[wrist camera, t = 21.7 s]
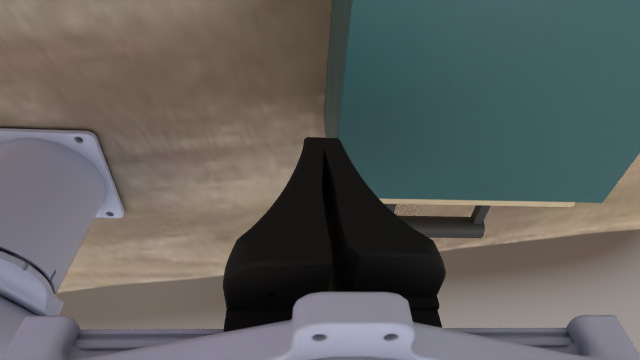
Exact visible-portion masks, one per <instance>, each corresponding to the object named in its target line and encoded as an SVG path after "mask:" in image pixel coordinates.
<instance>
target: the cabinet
mask: <svg viewBox="0 0 640 360" xmlns="http://www.w3.org/2000/svg"><path fill="white" fill-rule="evenodd" d="M324 122H325V135H326V138H339V139H340V140H341V142H342V145H343V147H344V149H345V151H346V153H347V155H348V156H349V158H350V160H351V162H352V163H353V165H354V166H355V168H356V169H357V171H358V173H359V174H360V175H361V177H362V178H363V180H364V181H365V182H366V184H367V185H368V186H369V188H370V189H371V190H372V191H373V192H374V194H375V195H376V196H377V197H378V198H379V199H427V200H482V201H536V202H590V203H602V202H603V201H604V200H605V198H606V197H607V196H608V194H609V193H610V192H611V190H612V189H613V188H614V186H615V185H616V184H617V182H618V181H619V180H620V178H621V177H622V176H623V174H624V173H625V172H626V170H627V169H628V168H629V166H630V165H631V164H632V162H633V161H634V160H635V158H636V157H637V156H638V154H639V153H640V0H333V1H332V13H331V26H330V39H329V52H328V65H327V77H326V90H325V103H324Z"/></svg>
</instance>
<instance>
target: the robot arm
mask: <svg viewBox="0 0 640 360" xmlns="http://www.w3.org/2000/svg"><path fill="white" fill-rule="evenodd" d="M78 137H80V138H82V139H83V140H82V139H79V138H78ZM124 213H125V210H124V208H123V205H122V202H121V200H120V197H119V195H118V192H117V189H116V187H115V184H114V181H113V179H112V176H111V173H110V171H109V168H108V166H107V163H106V160H105V158H104V155H103V152H102V150H101V147H100V145H99V142H98V139H97V137H96V135H95V134H94V133H92V132H90V131H78V130H42V129H7V128H0V360H640V354H639V353H638V351H637V349H636V348H635V346H634V345H633V343H632V341H631V340H630V338H629V337H628V335H627V333H626V332H625V330H624V329H623V327H622V326H621V324H620V322H619V321H618V319H617V318H616V316H614V315H583V316H578V317H575V318H574V319H572V320H571V321H570V323H569V324H568V326H567V327H566V328H442V325H441V321H440V318H439V314H438V310H437V309H439V302H438V298H437V294H438V292H439V290H440V287H441V285H442V283H443V281H444V278H445V274H446V271H445V267H444V263H443V260H442V258H441V256H440V253H439V251H438V249H437V247H436V245H435V243H434V241H433V240H431V239H429V238H428V237H426V236H425V235H423V234H421V233H420V232H418V231H417V230H415V229H414V228H412V227H411V226H410V225H408V224H407V223H405V222H404V221H403V220H402V219H400V218H399V217H398V216H397V215H396V214H394V213H393V212H392V211H391V210H390V209H389V208H388V207H387V206H386V205H385V204H384V203H383V202H382V201H381V200H380V199H379V198H378V197H377V196H376V195H375V194H374V192H373V191H372V190H371V189H370V188H369V186H368V185H367V184H366V182H365V181H364V180H363V178H362V177H361V175H360V174H359V173H358V171H357V169H356V168H355V166H354V165H353V163H352V162H351V160H350V158H349V156H348V155H347V153H346V151H345V149H344V147H343V145H342V142H341V140H340V139H339V138H315V137H307V138H306V139H304V146H303V150H302V153H301V156H300V159H299V161H298V164H297V166H296V168H295V170H294V172H293V174H292V176H291V178H290V180H289V182H288V184H287V185H286V187H285V188H284V190H283V192H282V193H281V195H280V196H279V197H278V199H277V200H276V201H275V203H274V204H273V205H272V207H271V208H270V209H269V210H268V211H267V212H266V214H265V215H264V216H263V217H262V218H261V219H260V220H259V221H258V222H257V223H256V224H255V225H254V226H253V227H252V228H251V229H249V230H248V231H247V232H246V233H245V234H243V235H242V236H241V237H240V238H239V239H237V241H236V243H235V245H234V247H233V249H232V252H231V254H230V256H229V259H228V262H227V265H226V268H225V273H224V280H223V290H224V296H225V301H226V307H227V311H226V318H225V324H224V329H110V330H109V329H103V330H101V329H100V330H98V329H96V330H93V329H88V330H80V328H79V325H78V324H77V323H76V321H75V320H74V319H72V318H70V317H67V316H59V314H60V311H61V309H62V307H63V305H64V302H63V301H61V300H59V299H58V298H57V297H56V296H55V295H56V293H57V291H58V289H59V287H60V285H61V283H62V281H63V279H64V277H65V275H66V273H67V271H68V269H69V267H70V265H71V263H72V261H73V259H74V257H75V256H76V254H77V252H78V250H79V248H80V246H81V244H82V242H83V240H84V238H85V236H86V234H87V232H88V230H89V228H90V226H91V224H92V222H93V220H94V218H122V217H123V216H124Z"/></svg>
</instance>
